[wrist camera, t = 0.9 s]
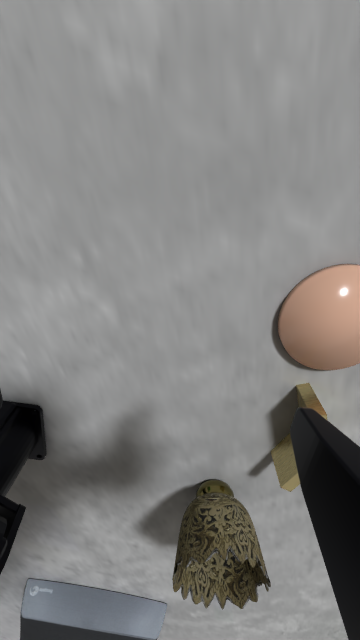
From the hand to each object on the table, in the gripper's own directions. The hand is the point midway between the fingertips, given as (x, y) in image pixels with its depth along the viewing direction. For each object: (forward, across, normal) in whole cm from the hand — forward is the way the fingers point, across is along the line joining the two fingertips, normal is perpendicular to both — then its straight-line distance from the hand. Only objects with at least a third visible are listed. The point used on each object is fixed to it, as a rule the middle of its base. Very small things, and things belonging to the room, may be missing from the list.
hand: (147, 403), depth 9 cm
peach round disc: (+12, -12, +2) cm, 17 cm away
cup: (+13, -6, +22) cm, 26 cm away
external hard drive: (+14, +8, +51) cm, 53 cm away
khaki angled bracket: (+13, -11, +12) cm, 20 cm away
